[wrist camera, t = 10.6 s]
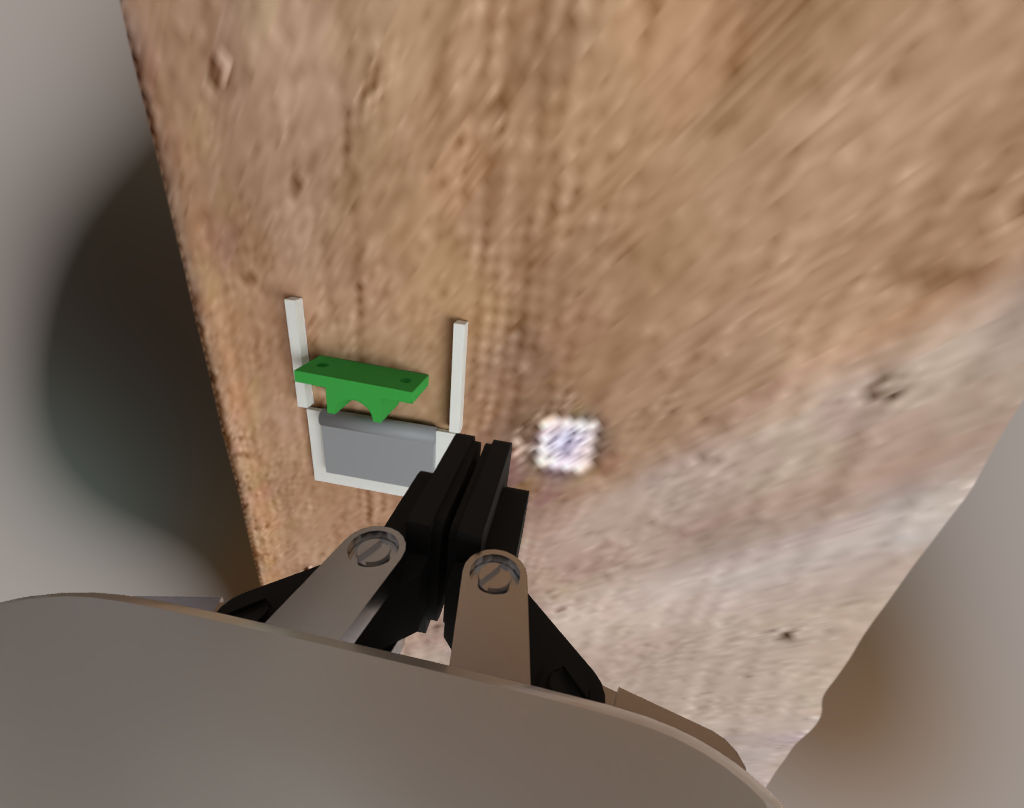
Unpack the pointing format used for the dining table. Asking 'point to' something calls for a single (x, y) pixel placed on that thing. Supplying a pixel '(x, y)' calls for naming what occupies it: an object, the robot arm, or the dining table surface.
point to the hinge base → (373, 427)
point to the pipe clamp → (362, 384)
